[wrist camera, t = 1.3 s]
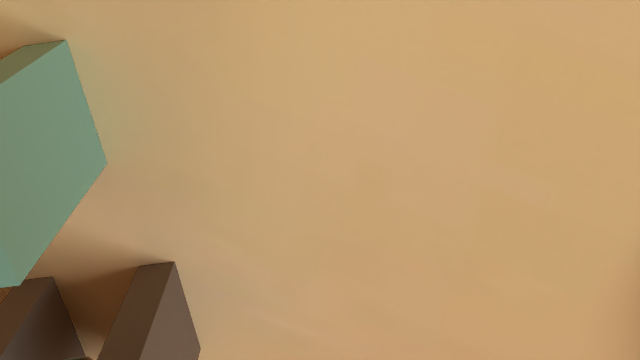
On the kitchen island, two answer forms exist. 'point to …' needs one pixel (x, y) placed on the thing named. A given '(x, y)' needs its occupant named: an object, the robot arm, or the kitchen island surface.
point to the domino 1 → (41, 152)
